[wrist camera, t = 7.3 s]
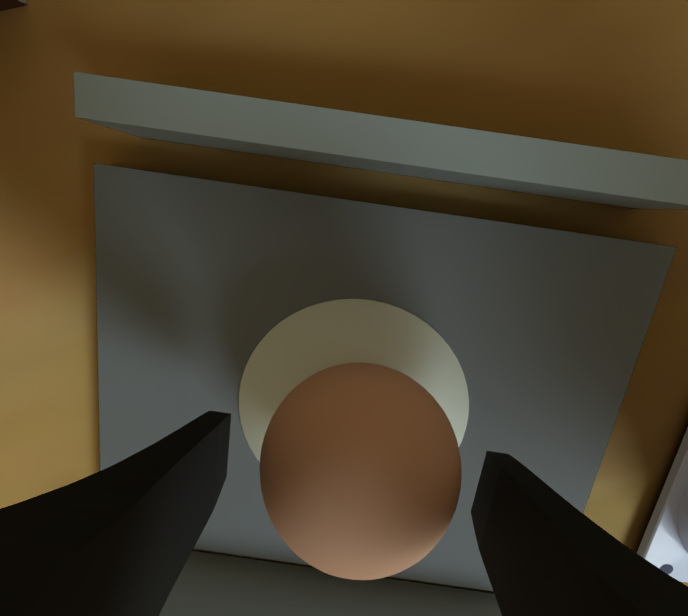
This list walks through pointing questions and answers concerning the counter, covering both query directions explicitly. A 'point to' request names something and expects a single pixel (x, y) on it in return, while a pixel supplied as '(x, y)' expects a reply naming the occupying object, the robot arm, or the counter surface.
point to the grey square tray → (382, 156)
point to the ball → (360, 471)
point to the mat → (360, 333)
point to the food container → (11, 4)
